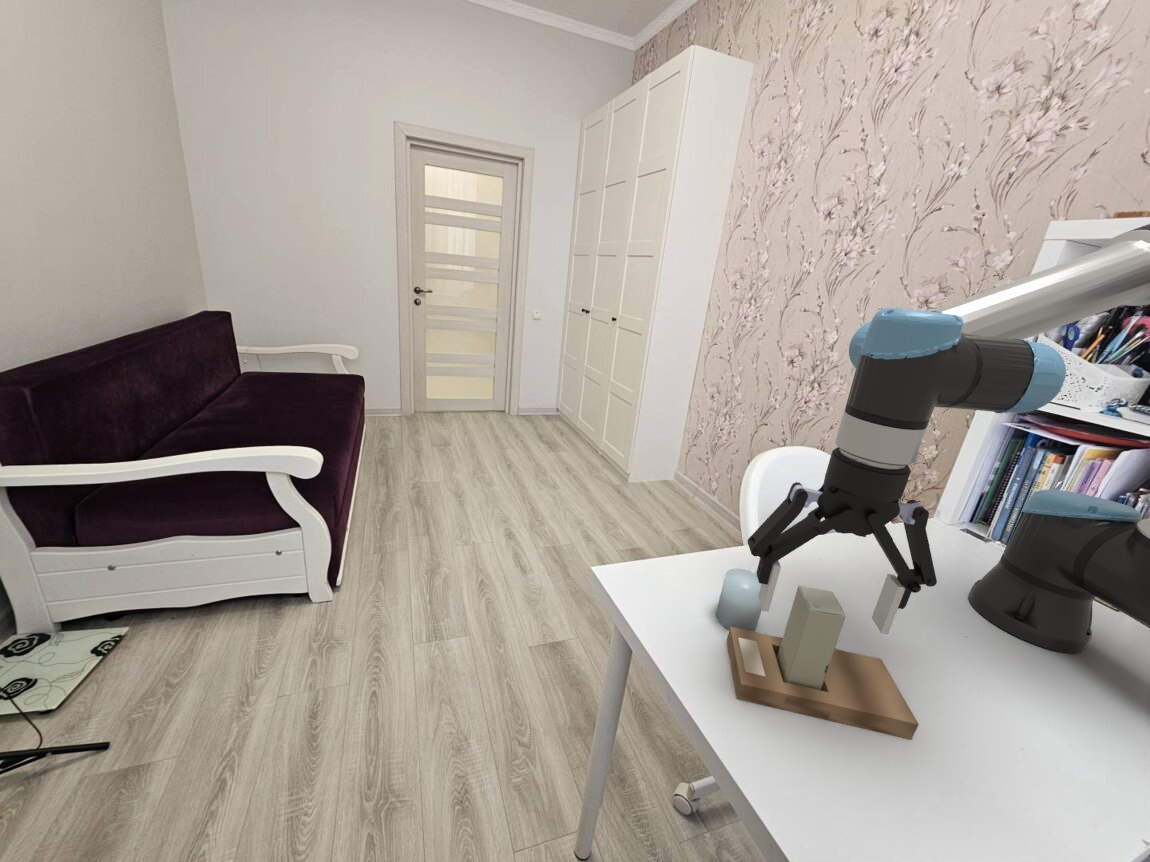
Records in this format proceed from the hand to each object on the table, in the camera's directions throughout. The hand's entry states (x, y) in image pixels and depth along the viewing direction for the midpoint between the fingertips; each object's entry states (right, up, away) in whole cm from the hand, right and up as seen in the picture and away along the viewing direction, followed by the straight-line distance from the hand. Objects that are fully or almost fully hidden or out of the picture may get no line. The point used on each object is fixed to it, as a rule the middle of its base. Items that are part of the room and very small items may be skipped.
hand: (820, 615), depth 58 cm
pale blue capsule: (-6, -6, +14) cm, 16 cm away
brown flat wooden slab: (0, -10, +3) cm, 11 cm away
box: (-2, -10, +4) cm, 11 cm away
